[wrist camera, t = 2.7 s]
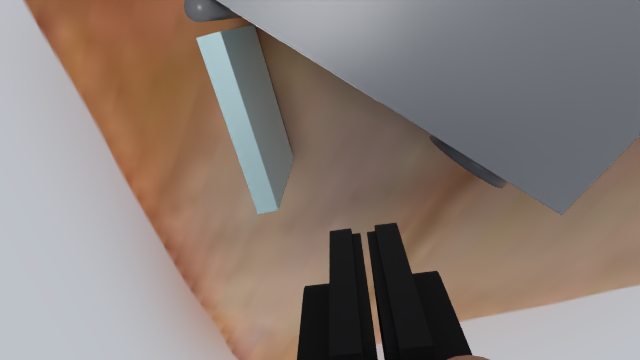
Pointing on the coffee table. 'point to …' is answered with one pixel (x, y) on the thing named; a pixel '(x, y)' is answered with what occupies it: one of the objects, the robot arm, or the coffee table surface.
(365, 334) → the robot arm
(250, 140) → the side door
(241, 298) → the coffee table surface
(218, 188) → the coffee table surface
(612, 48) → the housing
